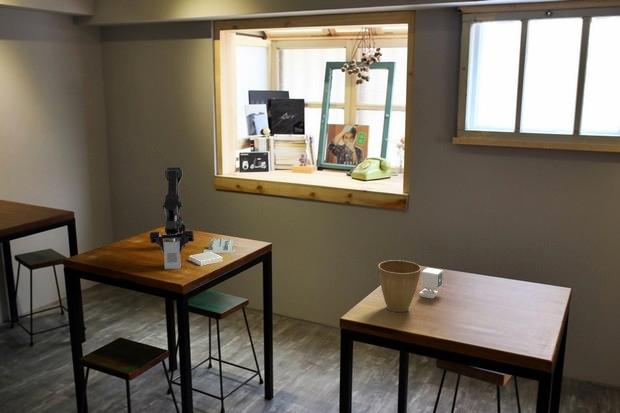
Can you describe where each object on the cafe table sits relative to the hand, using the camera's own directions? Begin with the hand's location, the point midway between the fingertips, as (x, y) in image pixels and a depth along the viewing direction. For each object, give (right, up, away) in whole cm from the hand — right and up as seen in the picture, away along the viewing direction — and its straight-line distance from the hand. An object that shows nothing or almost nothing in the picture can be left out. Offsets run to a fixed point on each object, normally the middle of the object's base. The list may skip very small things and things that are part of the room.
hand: (172, 253), depth 265 cm
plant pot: (+91, -17, -45) cm, 103 cm away
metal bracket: (+17, -1, +31) cm, 35 cm away
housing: (0, -6, +3) cm, 7 cm away
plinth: (+13, -4, +12) cm, 18 cm away
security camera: (+105, -14, -31) cm, 111 cm away
